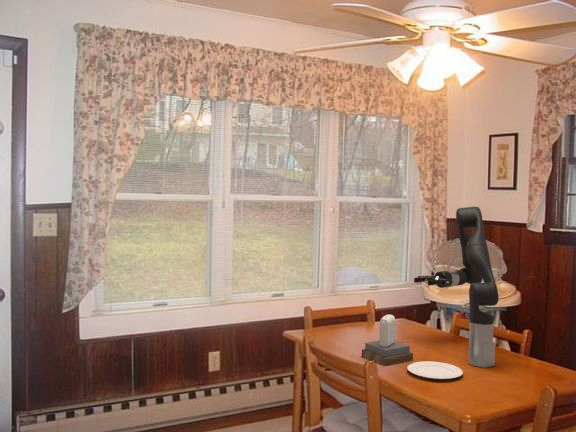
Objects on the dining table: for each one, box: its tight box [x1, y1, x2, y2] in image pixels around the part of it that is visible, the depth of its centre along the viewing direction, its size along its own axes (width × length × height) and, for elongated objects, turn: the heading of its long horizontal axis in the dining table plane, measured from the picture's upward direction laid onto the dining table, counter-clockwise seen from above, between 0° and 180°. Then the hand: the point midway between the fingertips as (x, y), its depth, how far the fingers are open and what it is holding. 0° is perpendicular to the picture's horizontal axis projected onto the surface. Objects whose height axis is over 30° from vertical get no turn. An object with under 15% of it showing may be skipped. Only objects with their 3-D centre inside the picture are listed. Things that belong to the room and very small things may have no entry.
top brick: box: [364, 340, 411, 358], centre depth 233 cm, size 13×13×3 cm
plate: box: [406, 360, 464, 381], centre depth 214 cm, size 21×21×2 cm
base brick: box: [361, 348, 414, 367], centre depth 233 cm, size 15×15×3 cm
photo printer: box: [378, 314, 396, 347], centre depth 233 cm, size 10×4×12 cm, turn 149°
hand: (421, 281), depth 249 cm, fingers open, 8 cm apart
